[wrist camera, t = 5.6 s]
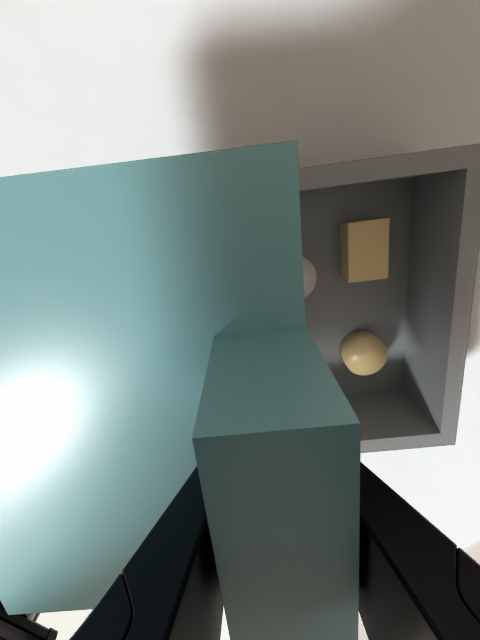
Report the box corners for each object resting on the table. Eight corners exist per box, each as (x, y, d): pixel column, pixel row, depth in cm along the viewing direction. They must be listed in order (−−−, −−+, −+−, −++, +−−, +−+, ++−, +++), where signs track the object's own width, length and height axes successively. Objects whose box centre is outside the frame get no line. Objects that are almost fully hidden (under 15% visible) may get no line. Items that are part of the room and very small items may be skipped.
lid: (309, 548, 13) (356, 778, 8) (34, 569, 14) (-100, 801, 8) (287, 153, 8) (364, 53, 3) (-132, 204, 9) (-686, 195, 4)
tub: (408, 392, 21) (455, 444, 17) (244, 408, 22) (244, 463, 17) (421, 160, 17) (491, 142, 12) (213, 188, 17) (201, 181, 13)
